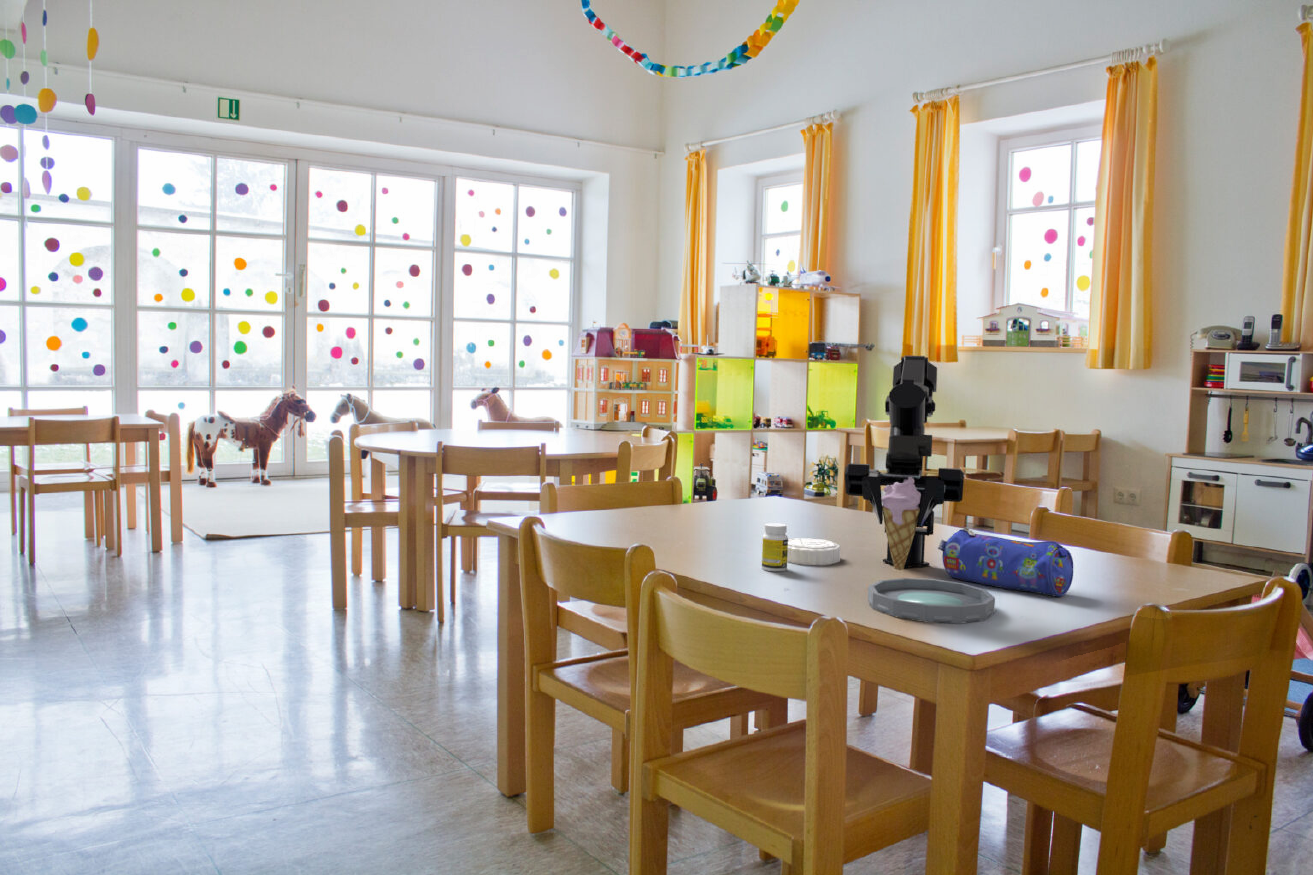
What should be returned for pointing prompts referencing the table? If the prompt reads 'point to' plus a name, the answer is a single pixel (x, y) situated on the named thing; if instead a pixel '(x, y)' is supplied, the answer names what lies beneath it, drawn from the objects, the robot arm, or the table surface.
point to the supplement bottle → (775, 547)
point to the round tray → (931, 600)
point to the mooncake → (812, 551)
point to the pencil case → (1008, 562)
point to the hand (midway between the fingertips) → (900, 523)
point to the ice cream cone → (900, 518)
